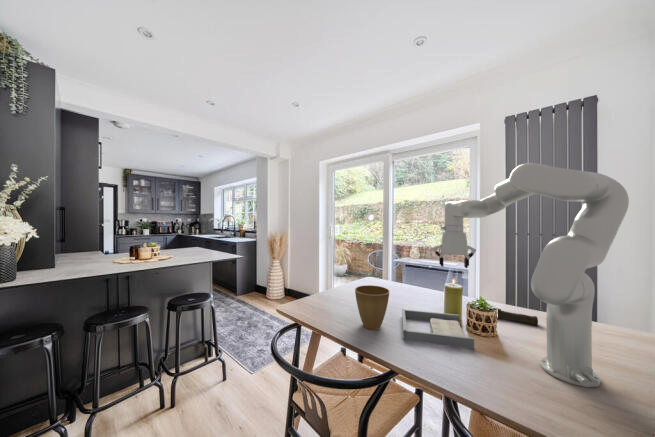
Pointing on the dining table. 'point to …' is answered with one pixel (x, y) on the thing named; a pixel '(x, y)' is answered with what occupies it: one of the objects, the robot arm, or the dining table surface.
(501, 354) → the dining table surface
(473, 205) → the robot arm
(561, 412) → the dining table surface
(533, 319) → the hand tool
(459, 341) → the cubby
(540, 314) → the dining table surface
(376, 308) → the plant pot
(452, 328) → the washcloth
